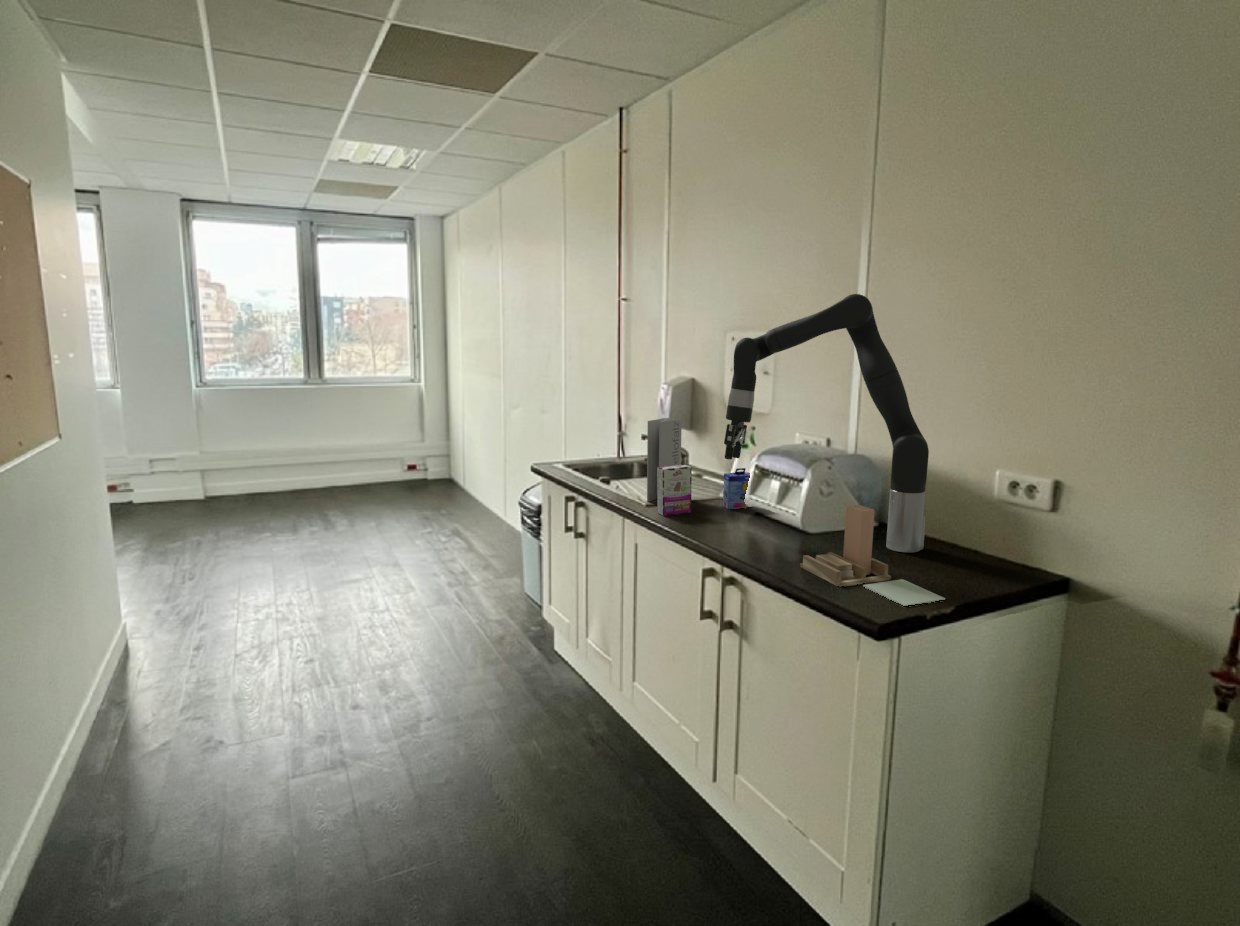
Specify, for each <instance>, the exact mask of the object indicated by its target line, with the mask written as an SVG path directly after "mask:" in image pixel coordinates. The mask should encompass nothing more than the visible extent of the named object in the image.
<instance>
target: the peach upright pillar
mask: <svg viewBox="0 0 1240 926" xmlns="http://www.w3.org/2000/svg"><path fill="white" fill-rule="evenodd" d="M845 507H846V508H845V520H844V521H845V522H844V538H843V540H844V541H843V553H842V557H843V558H846V559H848V560H850V561H852V562H854V563H857V564H859V565H861V566H863V567H865V568H866V576H867V575H871V573H870V571H871V558H872V556H873V555H872V554H873V553H872V552H873V543H874V541H873V540H874V539H873V538H874V527H875V526H874V524H875V509H872V508H870V507H867V506H865V505H861V504H852V505H846V506H845Z"/></svg>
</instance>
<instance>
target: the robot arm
mask: <svg viewBox="0 0 1240 926" xmlns="http://www.w3.org/2000/svg"><path fill="white" fill-rule="evenodd" d="M877 325H878V324H877V322H876V318H875V314H874V310H873V305H872V303H871V301H870V299H869V298H867V296H865V295H863V294H860V293H853V294H849V295H847V296H845V297H844V298H842V300H841V299H840V300H839V301H838V302H836V303H834V304H833V305H830V306H829V307H827V308H825V309H823V310H821V311H818V312H816V313H813V314H810V315H808V316H805V317H802V318H799V319H796V320H794V321H790V322H788V323H785V324H782V325H779V326H777V327H774V328H771V329H770V330H768V331H767V332H766V333H764V334H762V335H760V336H759V335H758V336H757V337H755V338H751V337H743V338H740V340H739V341H738V342H736V345H735V348H734V351H733V375H732V380H731V385H730V386H731V387H730V392H729V396H728V400H727V408H726V414H725V419H726V420H728V421H731V422H730V423H727V424H726V430H725V434H724V441H723V444H724V445H725V451H724V459H725V460H732V459H733V458H734V459H740V458H741V454H742V453H741V452H742V447H743V445H745V443H746V437H747V436H746V435H747V428H748V425H747V424H745V423H749V424H750V423H751V421H752V417H753V416H752V415H753V410H754V402H755V391H756V385H757V384H756V383H757V374H756V366H757V362H759V361H762V360H764V359H766V358H768V357H771V356H772V355H774V354H777V353H780V352H783V351H786V350H788V349H792V348H794V347H797V346H799V345H801V344H804V343H806V342H808V341H810V340H812V339H814V338H817V337H820V336H821V335H824V334H828V333H831V332H834V331H838V330H843V329H846V331H847V333H848V335H849V336H850V340H851V341H852V343H853V346H854V348H855V351H856V354H857V358H858V359H857V360H858V363H859V368H860V372H861V375H862V377H863V381H864V383H865V385H866V388H867V391H868V393H869V396H870V398H871V399H872V402H873V404H874V405H875V407H876V409H877V410H878V412H879V413H880V415H881V417H882V418H883V420H884V422H885V425H886V427H887V431H888V432H889V436H890V439H891V445H892V456H891V457H892V460H891V470H890V471H891V472H890V473H891V474H890V487H889V488H890V490H889V501H888V516H887V517H888V518H887V531H886V541H885V542H886V545H885V547H886V549H888V550H891V551H894V552H901V553H910V554H911V553H917V552H920V551H921V550H924V546H925V544H924V543H925V542H924V541H925V533H926V532H925V531H926V519H927V518H926V516H924V510H925V497H926V486H927V480H928V479H927V478H928V477H927V476H928V465H929V454H930V452H929V446H928V442H927V441H926V439H925V437H924V435H923V434H922V431H921V430H920V428H919V427H918V425H917V422H916V420H915V419H914V416H913V414H912V411H911V409H910V408H911V407H910V403H909V399H908V396H907V392H906V389H905V386H904V383H903V379H902V378H901V374H900V372H899V370H898V367H897V365H896V363H895V361H894V359H893V357H892V355H891V353H890V351H889V350H888V348H887V347H886V345H885V343H884V340H883V339H882V337H881V334H880V332H879V329H878V328H879V327H878V326H877Z"/></svg>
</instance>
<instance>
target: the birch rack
mask: <svg viewBox="0 0 1240 926" xmlns="http://www.w3.org/2000/svg"><path fill="white" fill-rule="evenodd" d="M826 554H831V555H833V556H835V557H838V558H840V559H842V560H844V561H846V562H848V563H850V564H852V570H853V576H855V579H852V580H845V581H840V579H841V571H839V570H837V569H835V568H833V567H831V566H829V565H827V564H825V563H823V562H821V561H819V560H816V558H814V557H812V556H810V555H809V554H806V555H804V554H803V556H802V562H800V563H799V567H800V568H801V569H803V570H805V571H807V572H808V573H812V574H813V575H815V576H817V577H819V578H820V579H822V580H825V581H826V582H829V583H830V584H832V585H834V586H836V587H838V586H839V587H838V588H843V587H842V586H844V587H851V586H857V584H858V585H864V584H863V583H865V584H873V583H880V582H886V581H892V580H891V579H892V575H890V574H889V564H887V563H885V562H882V561H881V560H878V559H876V558H873V557H871V571H870V574H873V575H874V576H867V575H866V568H865V567H863V566H861V565H859V564H857V563H854V562H852V561H850V560H848V559H846V558H843V556H841V555H839V554H837V553H834V552H832V551H828V552H827V553H826ZM866 576H867V577H866Z"/></svg>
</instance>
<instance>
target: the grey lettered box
mask: <svg viewBox="0 0 1240 926" xmlns="http://www.w3.org/2000/svg"><path fill="white" fill-rule="evenodd" d="M682 424H683V423H682V418H677V419H671V417H664V418H657V419H651V420H647V440H646V441H647V444H646V445H647V447H646V448H647V449H646V450H647V451H646V453H647V454H646V458H647V459H646V460H647V462H646V463H647V464H646V466H647V467H646V475H647V476H646V502H647V503H648V502H652V500H653V501H655V500H657V467H666V466H676V465H682V426H683V425H682Z"/></svg>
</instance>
